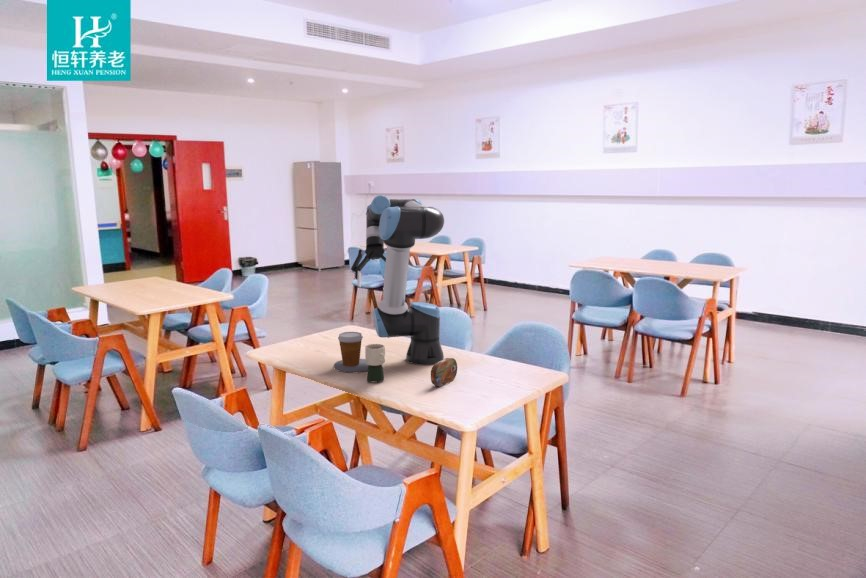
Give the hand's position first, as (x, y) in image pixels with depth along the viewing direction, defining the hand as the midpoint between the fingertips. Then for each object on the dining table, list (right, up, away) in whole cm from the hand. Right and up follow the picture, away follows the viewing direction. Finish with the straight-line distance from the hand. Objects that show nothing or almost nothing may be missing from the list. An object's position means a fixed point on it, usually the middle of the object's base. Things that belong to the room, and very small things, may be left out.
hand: (374, 285), depth 248 cm
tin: (+28, -36, -36) cm, 58 cm away
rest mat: (-6, -32, -17) cm, 37 cm away
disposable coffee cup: (-7, -31, -17) cm, 37 cm away
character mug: (+4, -35, -35) cm, 49 cm away
